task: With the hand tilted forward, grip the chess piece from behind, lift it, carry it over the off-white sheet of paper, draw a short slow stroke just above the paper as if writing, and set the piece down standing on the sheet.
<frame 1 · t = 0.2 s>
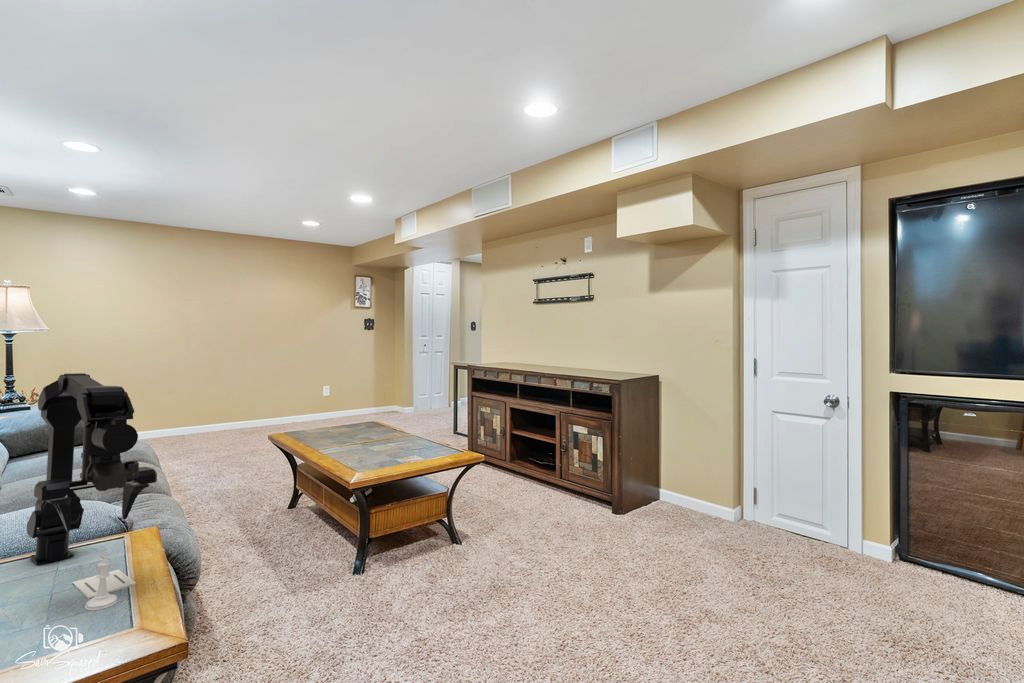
hand: (97, 524, 102), 14 cm above the table, tool pointing down, fingers open, 9 cm apart
paper: (104, 584, 106), on the table
chess piece: (101, 605, 99), on the table
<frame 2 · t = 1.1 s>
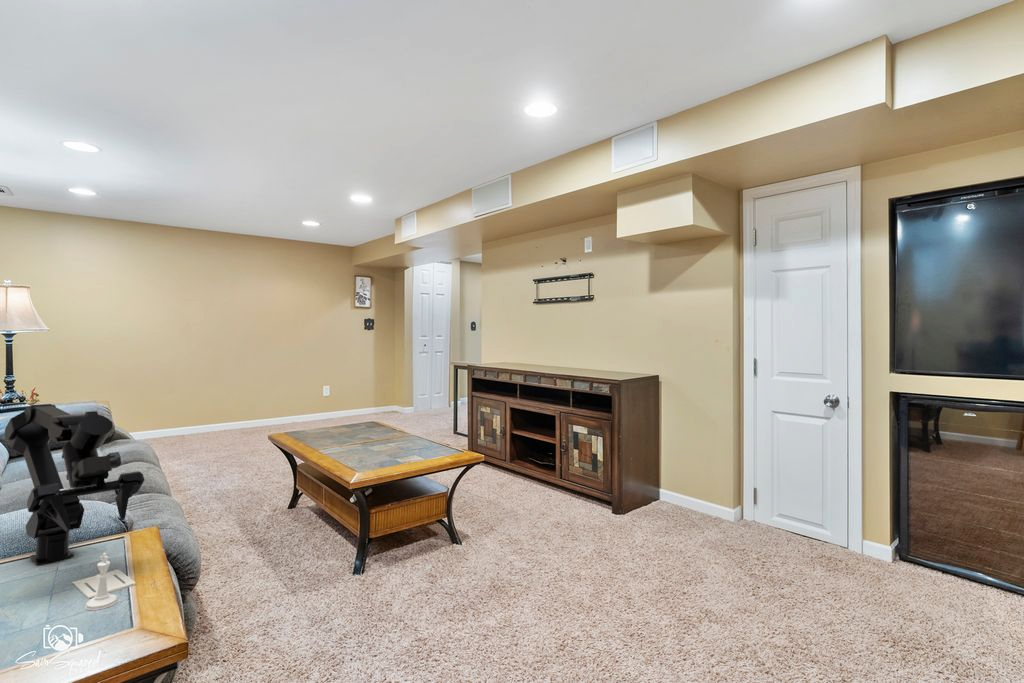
hand: (96, 524, 104), 13 cm above the table, tool tilted 45°, fingers open, 9 cm apart
nothing on the table moved.
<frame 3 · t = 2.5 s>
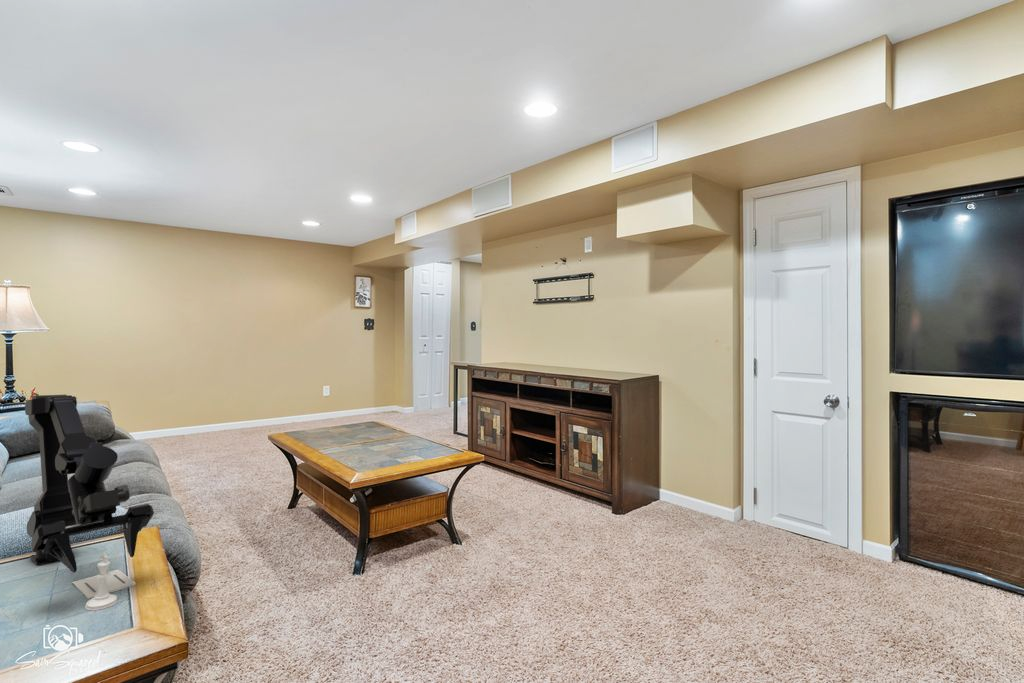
hand: (104, 563, 99), 8 cm above the table, tool tilted 45°, fingers open, 9 cm apart
nothing on the table moved.
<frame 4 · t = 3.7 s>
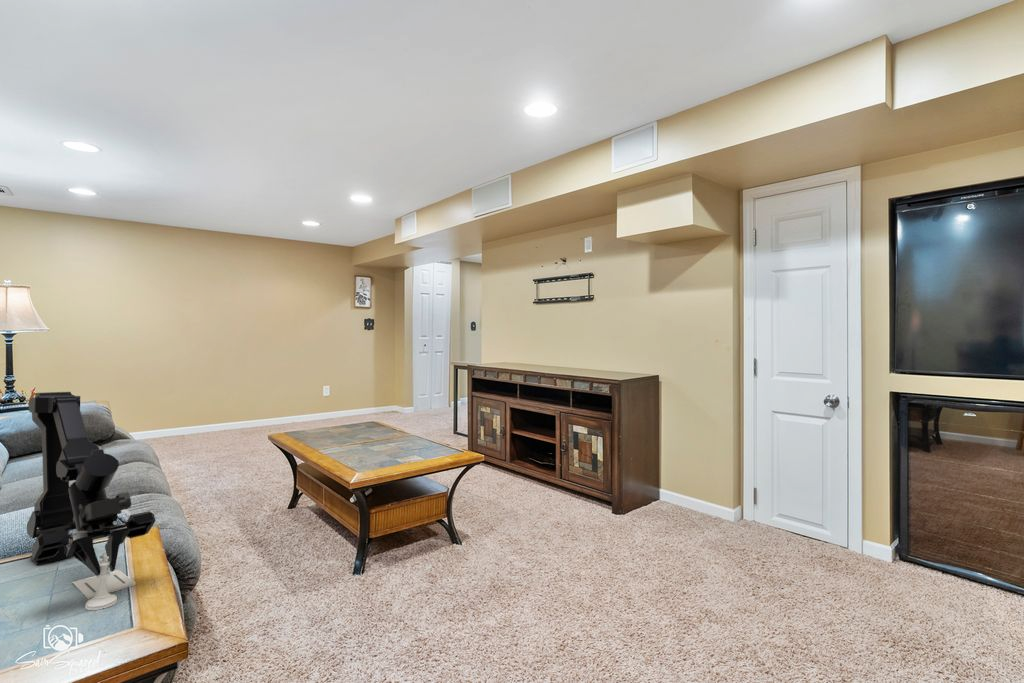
hand: (105, 572, 98), 7 cm above the table, tool tilted 45°, fingers closed on chess piece
chess piece: (101, 604, 99), on the table, touching gripper
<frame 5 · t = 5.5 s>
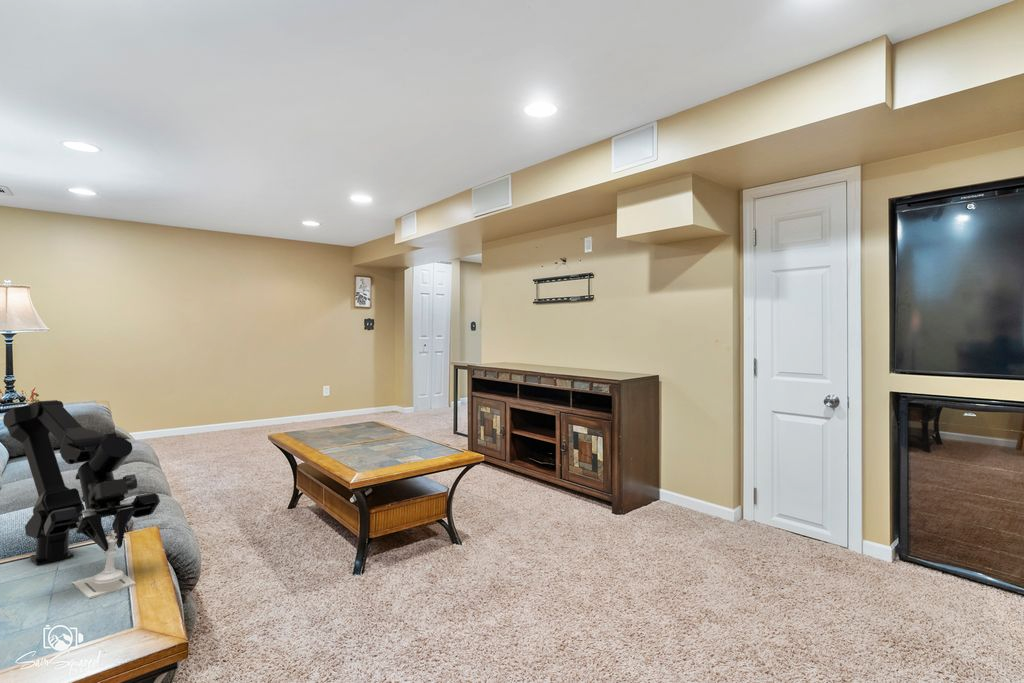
hand: (113, 548, 104), 9 cm above the table, tool tilted 45°, fingers closed on chess piece
chess piece: (108, 579, 104), point 2 cm above the table, touching gripper
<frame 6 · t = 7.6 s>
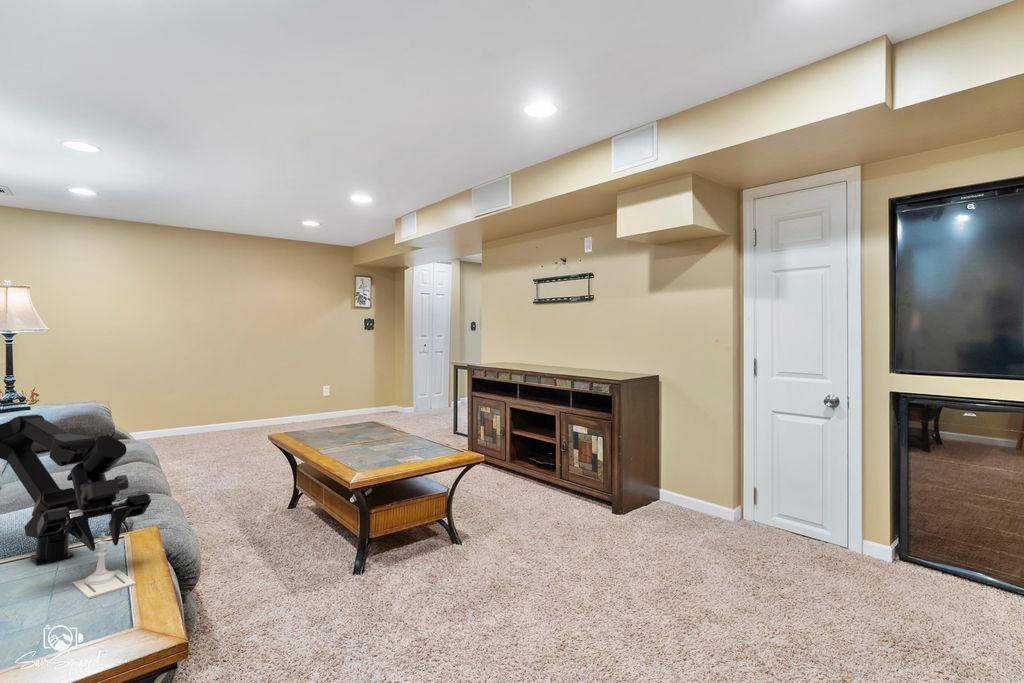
hand: (105, 547, 107), 8 cm above the table, tool tilted 45°, fingers open, 4 cm apart
chess piece: (100, 580, 107), resting on paper
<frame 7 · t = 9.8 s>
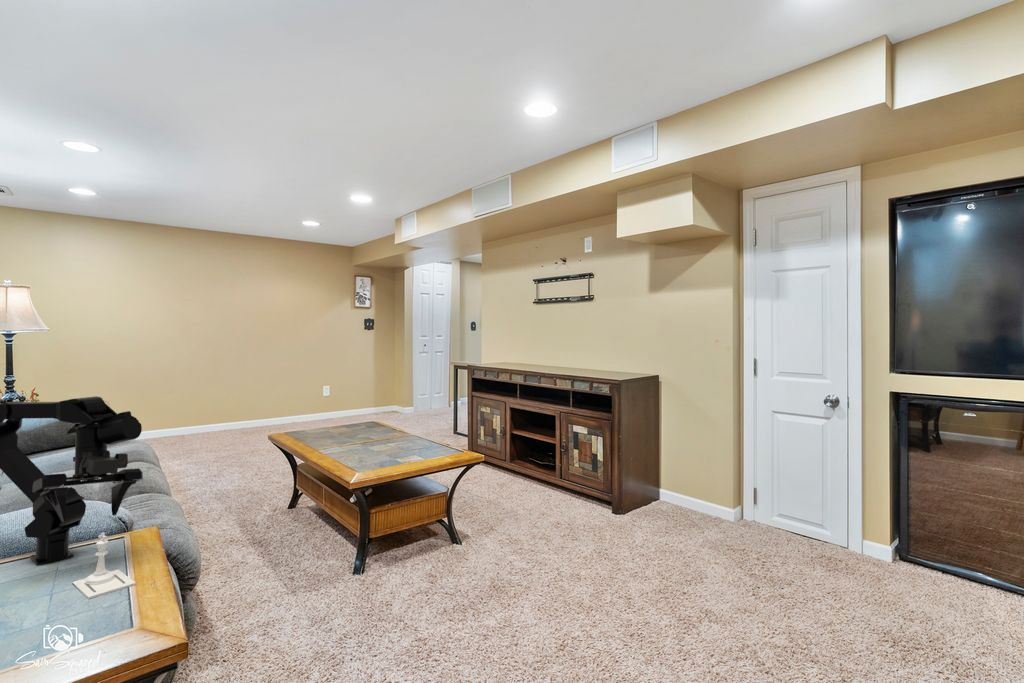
hand: (90, 518, 112), 12 cm above the table, tool tilted 20°, fingers open, 9 cm apart
nothing on the table moved.
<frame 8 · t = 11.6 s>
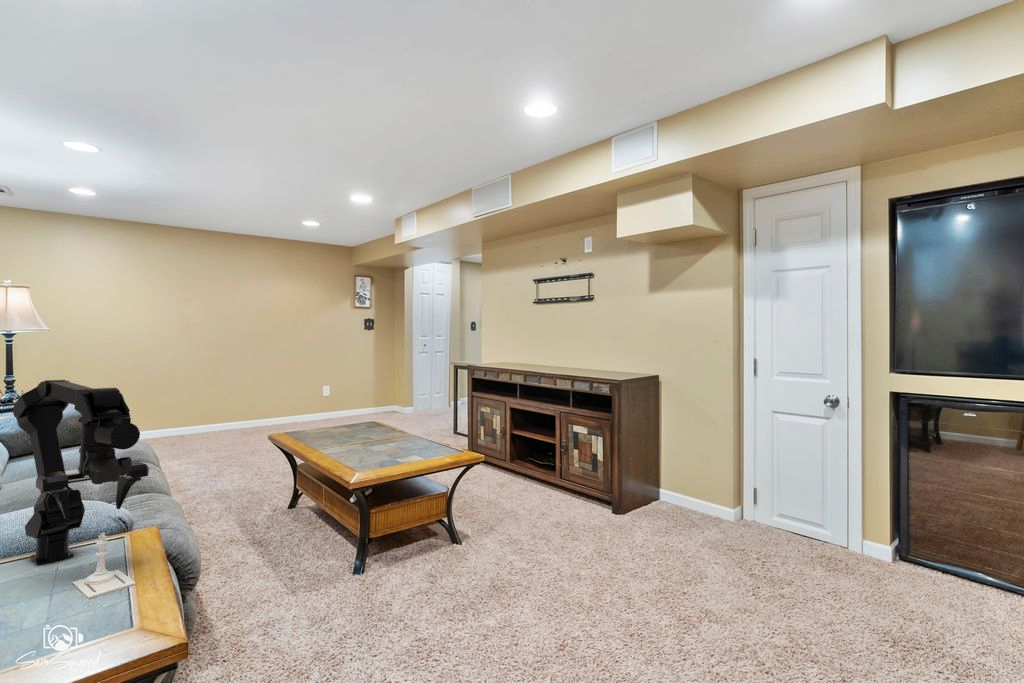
hand: (93, 513, 111), 13 cm above the table, tool pointing down, fingers open, 9 cm apart
nothing on the table moved.
at the end: chess piece inside the target area on the paper (2.1 cm from its centre), point 0.2 cm above the paper's base; chess piece tilted 0°; the gripper is holding nothing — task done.
